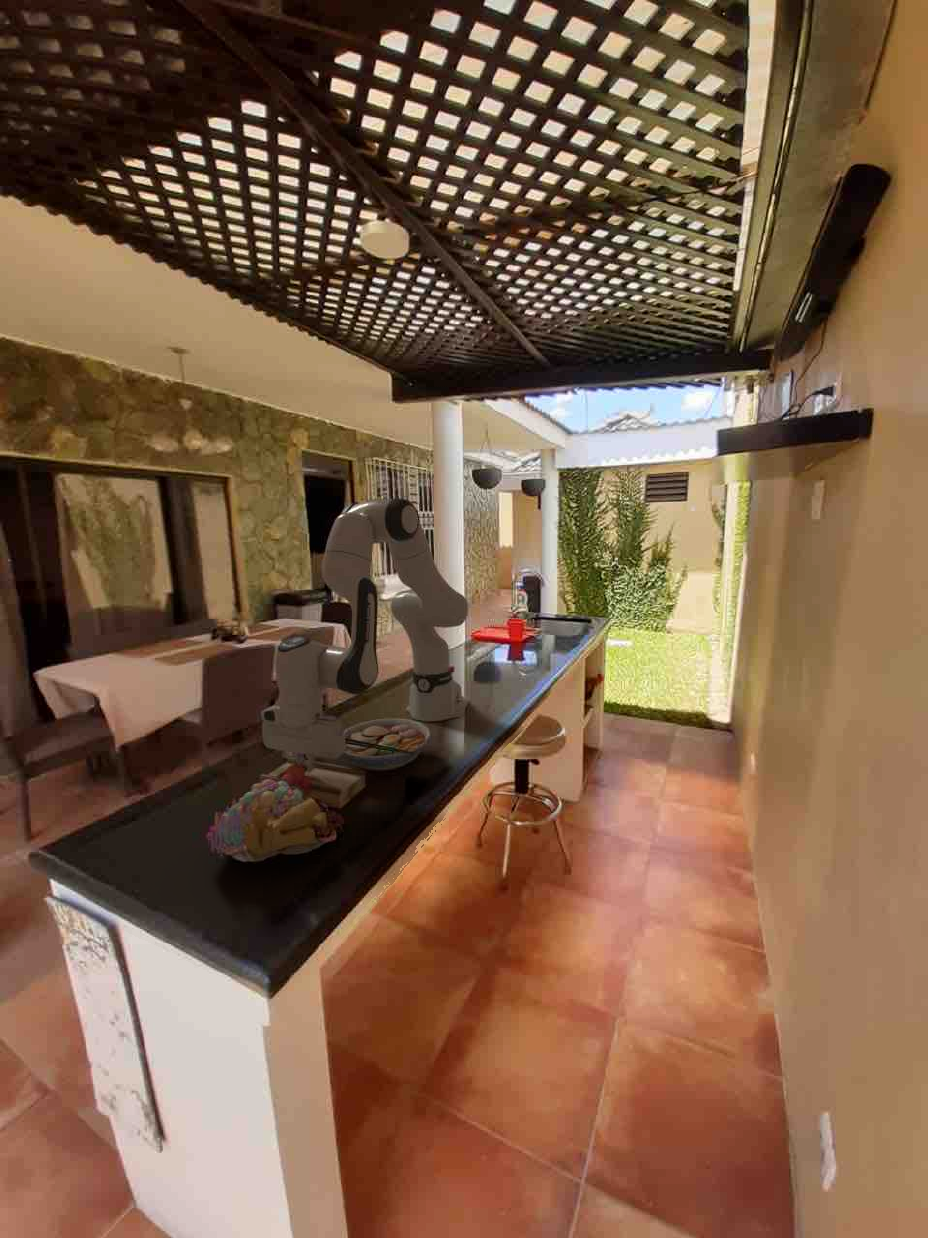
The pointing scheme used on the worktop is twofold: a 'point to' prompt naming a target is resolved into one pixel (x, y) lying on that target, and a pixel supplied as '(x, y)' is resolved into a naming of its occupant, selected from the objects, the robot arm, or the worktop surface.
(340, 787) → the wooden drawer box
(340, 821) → the pastel sphere sculpture
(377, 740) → the ramen bowl
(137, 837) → the worktop surface
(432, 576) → the robot arm
